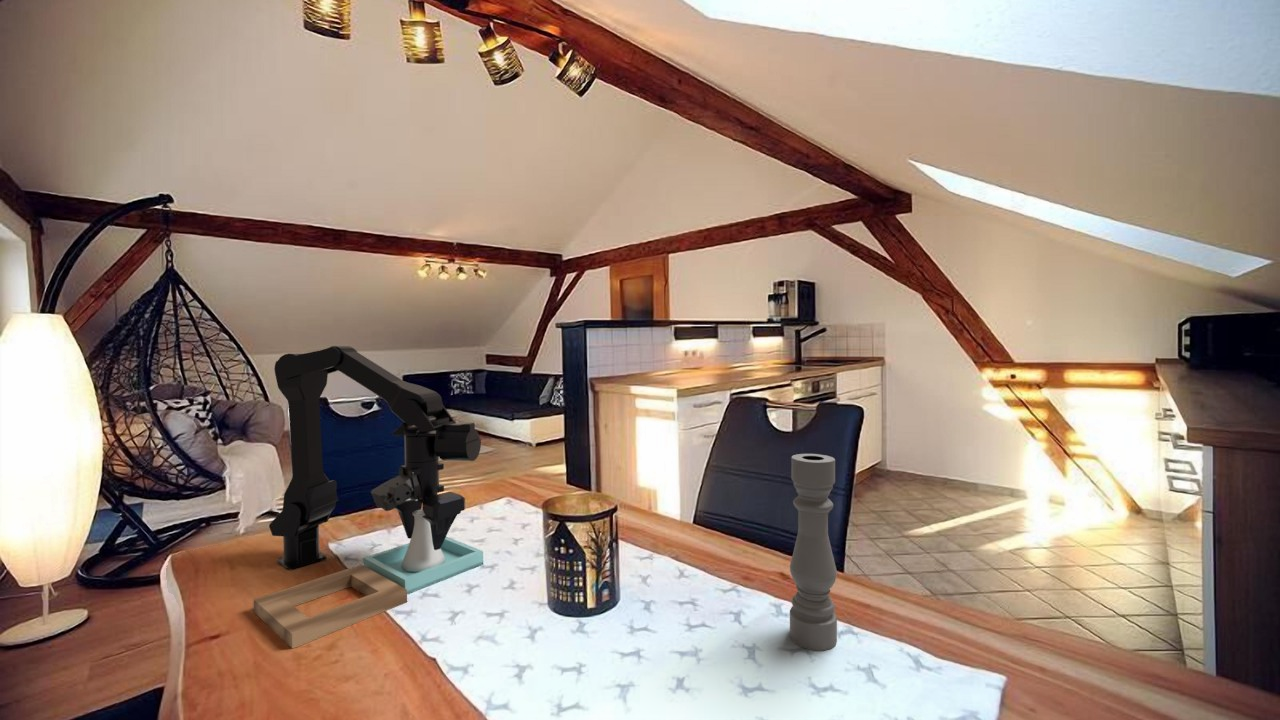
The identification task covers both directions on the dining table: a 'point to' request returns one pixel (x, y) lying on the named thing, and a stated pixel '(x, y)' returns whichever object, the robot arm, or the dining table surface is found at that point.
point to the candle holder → (813, 554)
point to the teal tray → (456, 562)
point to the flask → (421, 547)
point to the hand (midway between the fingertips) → (423, 543)
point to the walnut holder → (302, 629)
